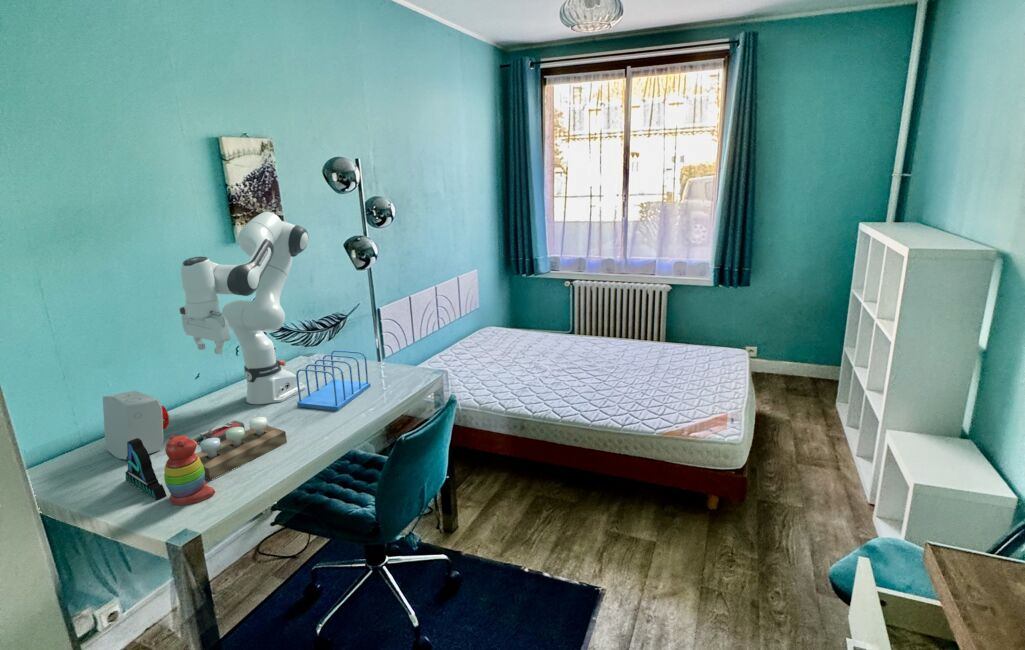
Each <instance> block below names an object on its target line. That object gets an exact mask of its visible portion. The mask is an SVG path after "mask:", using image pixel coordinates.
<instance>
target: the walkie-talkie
mask: <svg viewBox="0 0 1025 650" xmlns="http://www.w3.org/2000/svg"><path fill="white" fill-rule="evenodd" d="M234 427H243V428H244V431H246V428H245V424H244V422H241V421H238V420H232V421H228V422H227V423H225V424H218V425H216V426H215V427H212V428H210V429H208V430H206V431H203V432H201V433H199V436H197V437H195V438H193V439H192V440H194V441H196V442H198V441H201V440H202V439H203V440H205V439H208V438H219V439H220V442H222V441H224V440H227V439H226V433H225V432H226V431H227V430H228V429H231V428H234ZM203 440H202V441H203ZM202 441H201V442H202Z"/></svg>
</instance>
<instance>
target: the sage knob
mask: <svg viewBox="0 0 1025 650" xmlns="http://www.w3.org/2000/svg"><path fill="white" fill-rule="evenodd" d="M245 431H246V430H245ZM245 431H244V428H243V427H234V428H231V429H228V430H227V431H226V432H225V433H226V439H227V440H228V441H232V443H233V447H235V448H236V447H238V446H240V445H242V443H241V439H242V438H244V437H245Z"/></svg>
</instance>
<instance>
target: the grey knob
mask: <svg viewBox="0 0 1025 650" xmlns="http://www.w3.org/2000/svg"><path fill="white" fill-rule="evenodd" d="M199 447H200V450H201V451H202V452H204V453H207V454H208V459H213V458H215V457H217V451H216V450H218V449H220V447H221V443H220V439H219V438H208V439H205V440H203V441H200V443H199Z"/></svg>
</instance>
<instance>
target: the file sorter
mask: <svg viewBox="0 0 1025 650" xmlns="http://www.w3.org/2000/svg"><path fill="white" fill-rule="evenodd" d="M334 353H350V354H351V353H352V354H358V355H359V354H360V355H361V356H363V357H364V367H365V381H361V373H360V363H359V359H357V358H356V357H354V356H350V355H339V354H338V355H337V354H334ZM326 357H330V359H325V358H326ZM334 358H347V359H348V358H349V359H353V360H355V362H356V366H357V368H356V369H357V376H358V381H355V380H353V373H352V372H353V371H352V367H351V364H350V363H349V362H347V361H345V360H337V359H336V360H334ZM318 362H322V364H317V363H318ZM325 362H330V363H331V365H328V364H325ZM334 363H342V364H346V365H347V366H348V368H349V375H350V376H349V377H350V380H349V379H344V372H343V370H342V368H341V367H339V366H336V365H334ZM367 363H368V362H367V356H366V354H365V353H364V352H361V351H354V350H353V351H352V350H351V351H350V350H341V349H336V350H333V351H332V352H331V354H325V355H324V356H323V357H322V358H321V359H316V361H314V363H310V364H307V365H306V367H305V369H304V368H299V370H297V371H296V374H295V375H296V378H297V386H298V393H297V394H298V400H299V401H297V402H296V405H297V407H298V408H299V407H301V408H309V409H319V410H327V411H328V410H329V411H336V412H337V411H340V410H341V409H342V408H344V407H345V406H346V405H347V404H349V403H351V401H352V400H354V399H356V398H357V397H358V396H360V395H361V394H362V393H364V392H365V391H366V390H367V389H369V388H370V387H372V386H371V385H372V384H371V382H369V377H368V364H367ZM312 366H313V367H314V369H308V367H312ZM317 367H322V368H323V370H318V369H317ZM326 368H331V371H332V372H330V371H327V370H326ZM335 369H338V370H339V371H340V374H341V379H336V377H335ZM301 371H302V372H305V379H306V387H307V388H306V389H307V394H308V395H306V396H305V397H304V398H302V395H301V391H300V387H299V383H300V382H299V373H300V372H301ZM308 372H311V373H315V374H314V375H315V384H316V389H315V390H314V391H313V392H311V391H310V383H309V377H308V376H309V375H308ZM318 373H323V377H324V384H323V385H321V387H319V382H318V381H319V379H318V378H319V377H318ZM327 374H328V375H331V378H332V379H331V380H330V381H328V382H327ZM364 390H365V391H364ZM360 393H361V394H360Z"/></svg>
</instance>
